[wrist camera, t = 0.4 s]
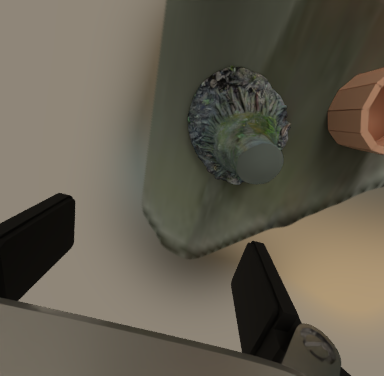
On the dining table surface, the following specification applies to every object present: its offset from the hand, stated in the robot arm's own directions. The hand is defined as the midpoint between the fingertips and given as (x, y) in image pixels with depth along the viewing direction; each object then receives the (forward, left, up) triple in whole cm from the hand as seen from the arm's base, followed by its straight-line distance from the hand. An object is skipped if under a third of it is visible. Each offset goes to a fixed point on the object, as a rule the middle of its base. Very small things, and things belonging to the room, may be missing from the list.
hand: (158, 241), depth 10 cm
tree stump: (-6, +7, -31) cm, 32 cm away
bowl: (-16, +29, -31) cm, 45 cm away
